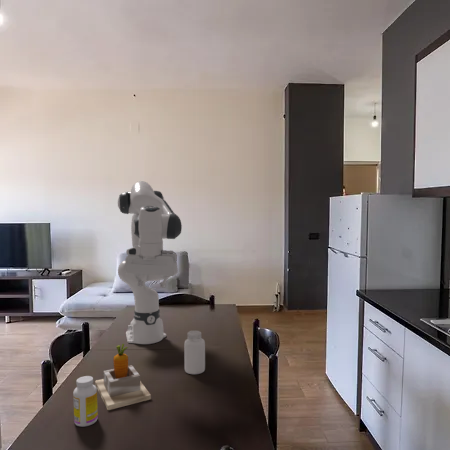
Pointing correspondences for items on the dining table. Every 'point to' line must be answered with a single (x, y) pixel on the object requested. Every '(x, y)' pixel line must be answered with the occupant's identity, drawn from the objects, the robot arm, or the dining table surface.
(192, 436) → the dining table surface
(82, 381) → the supplement bottle
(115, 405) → the anchor plate
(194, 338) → the pill bottle
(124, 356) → the carrot
